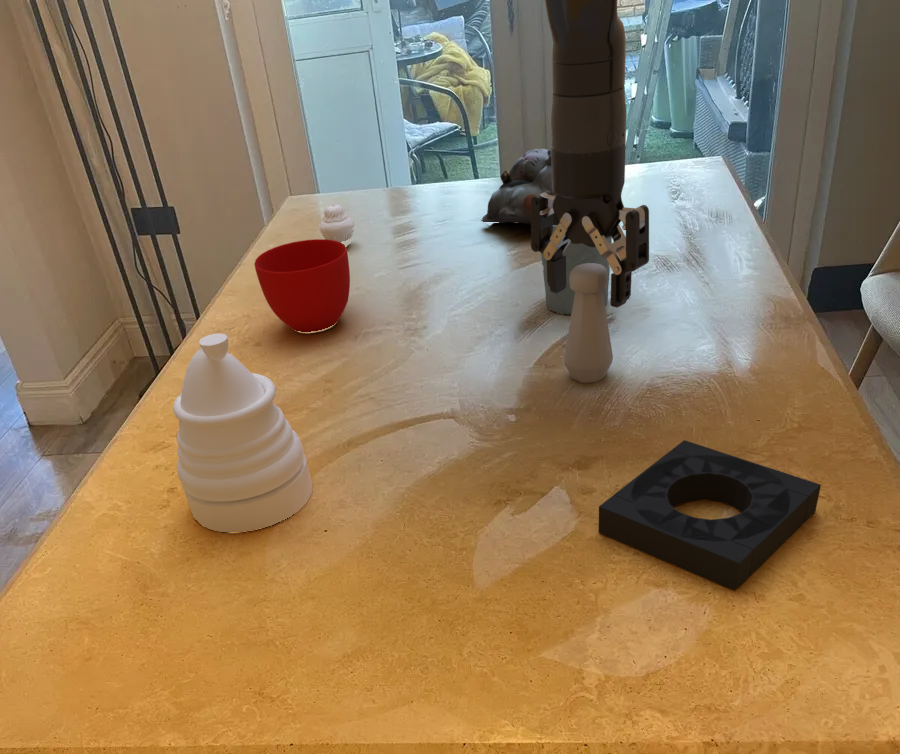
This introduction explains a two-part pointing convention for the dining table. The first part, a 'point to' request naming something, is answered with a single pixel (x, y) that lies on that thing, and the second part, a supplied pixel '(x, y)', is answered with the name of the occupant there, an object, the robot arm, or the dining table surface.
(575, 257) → the drinking glass
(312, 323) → the ceramic cup
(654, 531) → the base pad
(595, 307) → the cream tapered peg
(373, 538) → the dining table surface
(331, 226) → the muffin
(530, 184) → the lucky cat figurine
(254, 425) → the honey pot
